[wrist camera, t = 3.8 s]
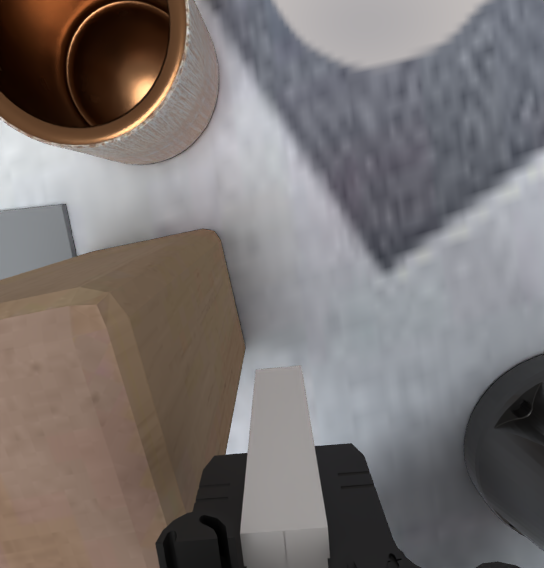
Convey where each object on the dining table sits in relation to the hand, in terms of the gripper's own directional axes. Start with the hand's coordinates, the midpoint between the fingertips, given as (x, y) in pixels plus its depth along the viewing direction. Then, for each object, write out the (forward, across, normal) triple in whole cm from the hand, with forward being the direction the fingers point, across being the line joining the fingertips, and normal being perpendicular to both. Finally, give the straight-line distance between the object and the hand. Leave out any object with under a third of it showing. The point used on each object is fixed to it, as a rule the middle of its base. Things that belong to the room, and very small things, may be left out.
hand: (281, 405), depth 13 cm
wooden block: (+17, +8, 0) cm, 19 cm away
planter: (+17, +8, -15) cm, 24 cm away
